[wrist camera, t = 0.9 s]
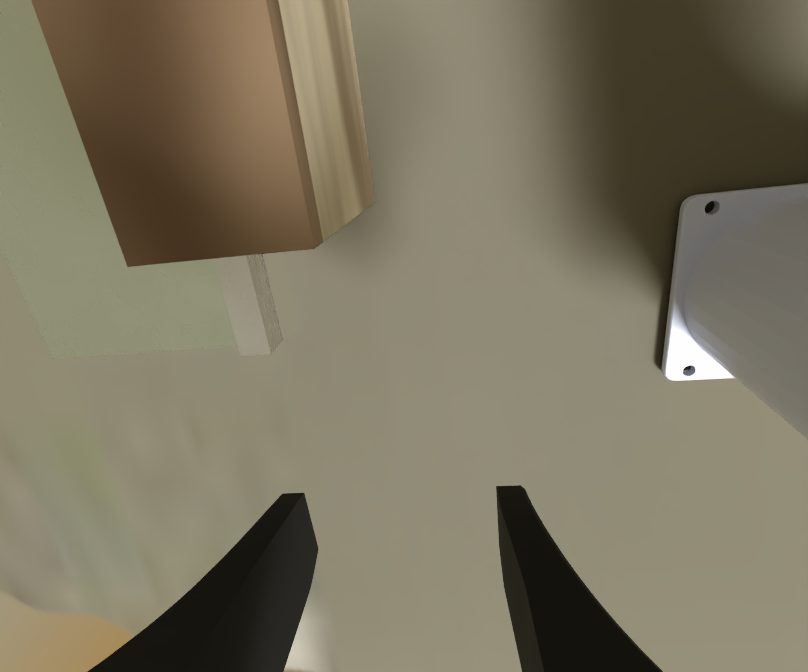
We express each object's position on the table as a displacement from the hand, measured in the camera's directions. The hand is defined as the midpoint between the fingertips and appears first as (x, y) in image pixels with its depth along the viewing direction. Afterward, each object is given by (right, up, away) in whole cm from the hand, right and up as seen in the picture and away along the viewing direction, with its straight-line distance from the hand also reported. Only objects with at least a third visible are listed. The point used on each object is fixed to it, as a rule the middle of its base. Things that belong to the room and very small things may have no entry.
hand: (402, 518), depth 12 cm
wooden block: (-4, +14, +6) cm, 16 cm away
